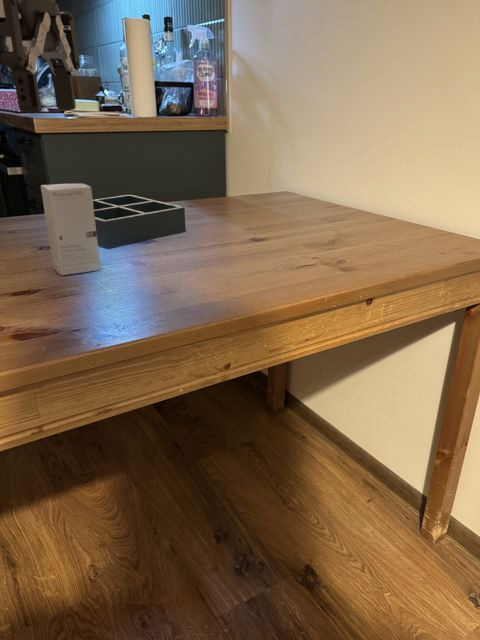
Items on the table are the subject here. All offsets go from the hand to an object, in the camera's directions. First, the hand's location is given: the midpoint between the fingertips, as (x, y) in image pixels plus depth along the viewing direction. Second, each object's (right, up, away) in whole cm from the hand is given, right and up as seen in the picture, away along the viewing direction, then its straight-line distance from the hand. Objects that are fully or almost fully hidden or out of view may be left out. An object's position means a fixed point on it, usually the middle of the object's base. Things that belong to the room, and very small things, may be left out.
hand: (49, 111), depth 58 cm
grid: (-2, -5, +37) cm, 38 cm away
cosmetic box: (-3, -16, +17) cm, 23 cm away
